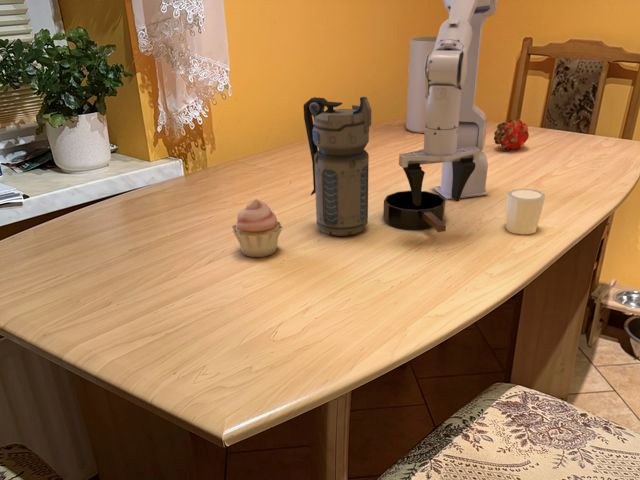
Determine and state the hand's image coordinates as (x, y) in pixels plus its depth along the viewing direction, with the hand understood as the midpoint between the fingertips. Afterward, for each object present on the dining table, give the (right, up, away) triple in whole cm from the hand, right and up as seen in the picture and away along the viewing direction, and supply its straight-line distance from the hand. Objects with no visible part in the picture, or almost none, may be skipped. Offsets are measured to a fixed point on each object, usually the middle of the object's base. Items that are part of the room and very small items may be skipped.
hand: (436, 201), depth 118 cm
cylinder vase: (+11, +40, +78) cm, 88 cm away
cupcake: (-33, -9, +1) cm, 34 cm away
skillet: (-1, -3, +9) cm, 10 cm away
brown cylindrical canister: (-18, -3, +10) cm, 21 cm away
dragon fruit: (+31, +27, +56) cm, 70 cm away
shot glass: (+18, -4, +7) cm, 19 cm away
